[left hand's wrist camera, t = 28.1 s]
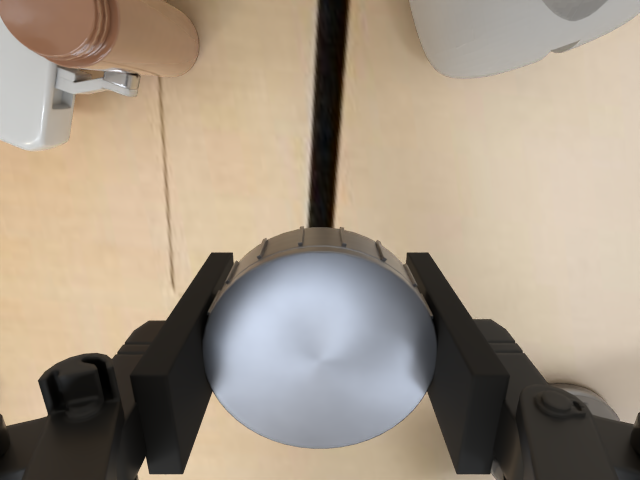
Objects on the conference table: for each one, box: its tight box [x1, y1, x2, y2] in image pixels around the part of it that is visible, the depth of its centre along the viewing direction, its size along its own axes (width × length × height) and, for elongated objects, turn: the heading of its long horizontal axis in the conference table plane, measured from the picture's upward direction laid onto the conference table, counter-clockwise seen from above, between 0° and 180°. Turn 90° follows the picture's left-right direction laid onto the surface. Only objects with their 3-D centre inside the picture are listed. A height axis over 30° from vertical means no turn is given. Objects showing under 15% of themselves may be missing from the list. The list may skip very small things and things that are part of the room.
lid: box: [202, 226, 438, 449], centre depth 11 cm, size 6×6×2 cm
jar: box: [0, 0, 199, 77], centre depth 26 cm, size 5×5×16 cm
